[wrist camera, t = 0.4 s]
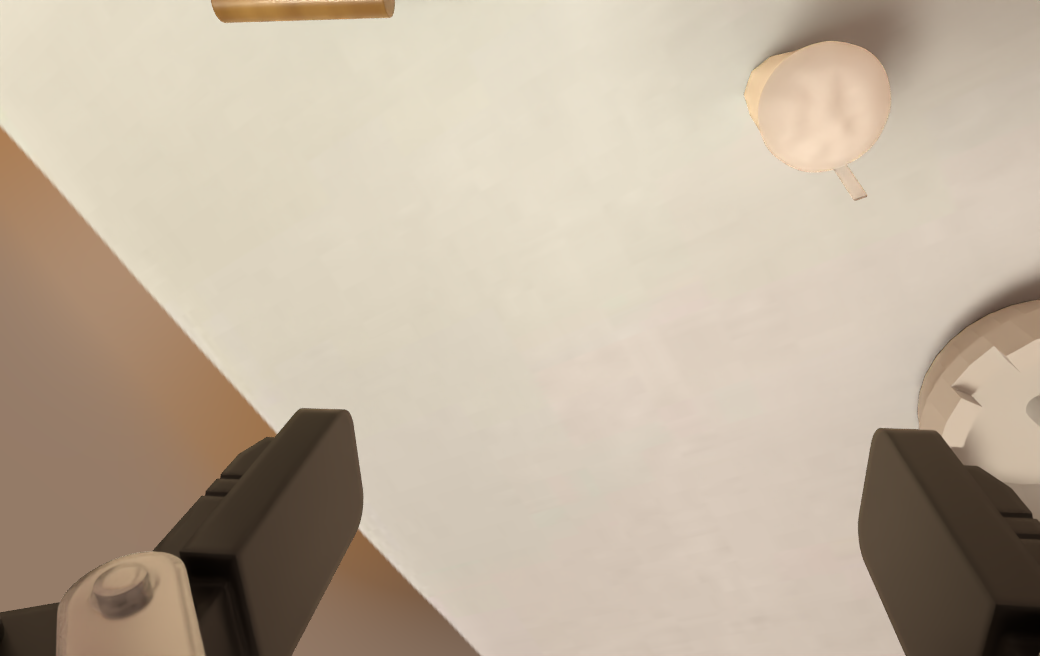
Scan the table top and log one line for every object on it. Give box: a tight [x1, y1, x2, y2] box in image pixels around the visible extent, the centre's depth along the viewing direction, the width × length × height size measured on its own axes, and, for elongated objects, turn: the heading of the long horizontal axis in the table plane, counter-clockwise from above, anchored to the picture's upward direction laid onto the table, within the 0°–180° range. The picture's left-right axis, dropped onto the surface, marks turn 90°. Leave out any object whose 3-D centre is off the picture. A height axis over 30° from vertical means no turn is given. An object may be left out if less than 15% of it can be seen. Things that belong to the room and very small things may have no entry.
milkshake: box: [744, 41, 891, 201], centre depth 29 cm, size 4×5×10 cm
